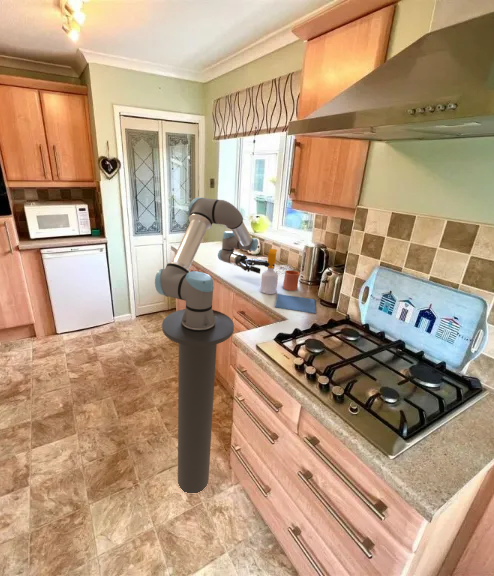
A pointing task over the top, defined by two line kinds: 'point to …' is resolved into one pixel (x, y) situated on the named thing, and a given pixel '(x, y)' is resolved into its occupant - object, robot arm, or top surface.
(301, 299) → the blue mat
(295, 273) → the terracotta cup
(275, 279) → the soap bottle
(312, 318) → the top surface
